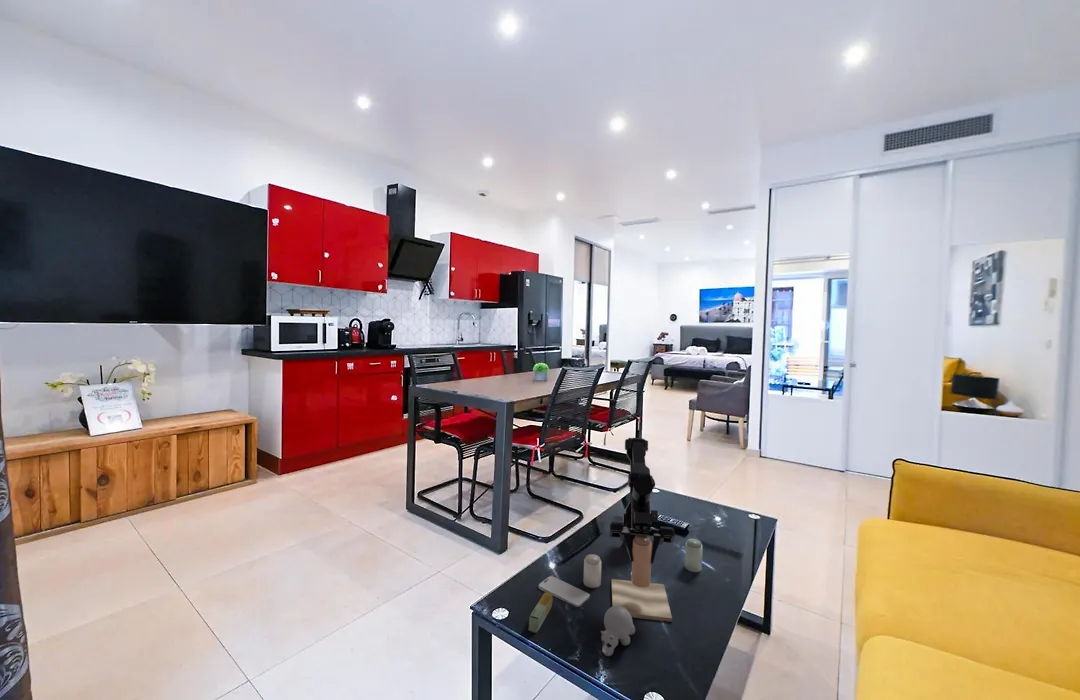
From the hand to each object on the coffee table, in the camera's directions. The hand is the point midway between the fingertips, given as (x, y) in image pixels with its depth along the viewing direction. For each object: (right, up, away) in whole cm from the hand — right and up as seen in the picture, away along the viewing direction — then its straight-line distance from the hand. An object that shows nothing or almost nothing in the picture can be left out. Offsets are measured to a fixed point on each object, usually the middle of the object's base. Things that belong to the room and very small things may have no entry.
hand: (641, 562), depth 126 cm
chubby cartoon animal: (-11, -13, -15) cm, 23 cm away
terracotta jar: (0, -7, +2) cm, 7 cm away
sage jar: (+22, -12, +21) cm, 33 cm away
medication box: (-29, -13, -6) cm, 32 cm away
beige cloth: (0, -13, +3) cm, 13 cm away
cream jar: (-13, -12, +11) cm, 21 cm away
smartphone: (-22, -12, +6) cm, 26 cm away
